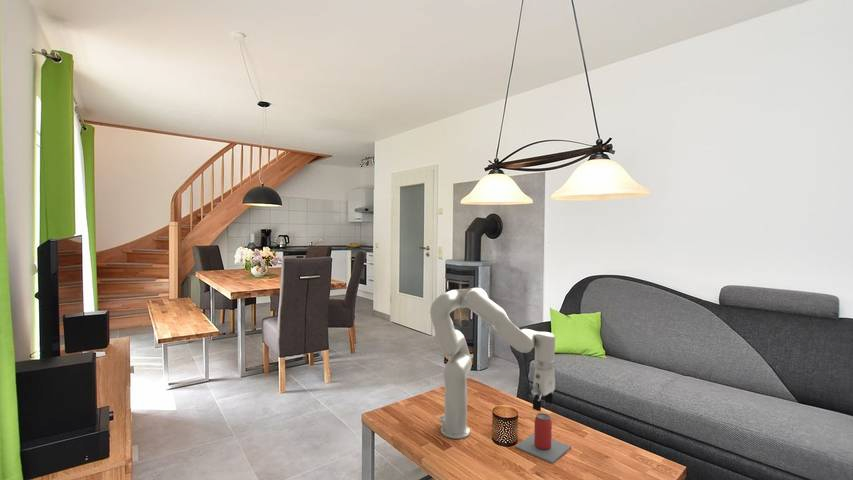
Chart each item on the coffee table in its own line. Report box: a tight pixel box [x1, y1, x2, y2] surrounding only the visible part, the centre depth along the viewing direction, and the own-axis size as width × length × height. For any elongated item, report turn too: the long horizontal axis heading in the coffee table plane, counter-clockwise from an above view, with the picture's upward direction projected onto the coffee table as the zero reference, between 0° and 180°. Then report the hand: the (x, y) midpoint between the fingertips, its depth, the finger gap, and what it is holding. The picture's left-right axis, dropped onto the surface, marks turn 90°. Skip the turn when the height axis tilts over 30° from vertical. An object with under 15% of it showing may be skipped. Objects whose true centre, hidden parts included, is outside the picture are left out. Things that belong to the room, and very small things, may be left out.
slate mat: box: [514, 433, 572, 464], centre depth 160 cm, size 16×16×1 cm
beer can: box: [534, 412, 553, 450], centre depth 160 cm, size 7×7×12 cm
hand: (542, 406), depth 160 cm, fingers open, 9 cm apart
